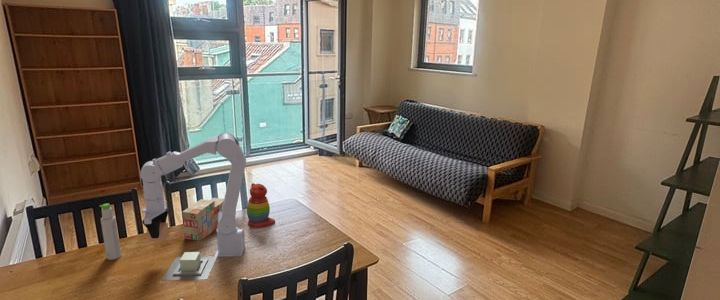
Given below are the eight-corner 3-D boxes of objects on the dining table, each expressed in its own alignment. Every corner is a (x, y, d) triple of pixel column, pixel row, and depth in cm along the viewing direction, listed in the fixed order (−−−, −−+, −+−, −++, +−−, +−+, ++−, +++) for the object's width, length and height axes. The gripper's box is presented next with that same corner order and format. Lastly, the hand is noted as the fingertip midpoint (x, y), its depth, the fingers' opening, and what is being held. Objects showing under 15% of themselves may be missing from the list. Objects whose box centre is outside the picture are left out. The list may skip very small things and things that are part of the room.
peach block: (168, 234, 142) (167, 222, 141) (163, 241, 137) (162, 229, 136) (153, 234, 142) (152, 222, 140) (148, 241, 137) (146, 229, 135)
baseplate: (217, 257, 145) (217, 254, 144) (206, 280, 131) (206, 277, 131) (176, 258, 143) (176, 255, 143) (161, 281, 130) (161, 278, 130)
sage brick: (200, 263, 140) (199, 251, 139) (196, 271, 135) (195, 259, 134) (185, 263, 139) (184, 252, 138) (180, 272, 135) (179, 260, 133)
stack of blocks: (215, 217, 176) (213, 190, 173) (228, 218, 175) (226, 192, 171) (184, 240, 156) (181, 211, 153) (199, 242, 155) (196, 213, 151)
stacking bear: (277, 223, 172) (276, 184, 167) (258, 231, 165) (256, 190, 160) (260, 215, 179) (259, 177, 174) (241, 223, 171) (239, 184, 166)
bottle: (109, 254, 145) (101, 202, 139) (122, 252, 146) (115, 201, 140) (104, 260, 140) (96, 207, 135) (118, 259, 142) (111, 206, 136)
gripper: (150, 189, 142) (154, 224, 145) (131, 206, 128) (137, 244, 132) (171, 188, 142) (174, 224, 146) (155, 206, 129) (159, 244, 132)
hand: (158, 233), depth 139 cm, fingers closed on peach block, 5 cm apart
